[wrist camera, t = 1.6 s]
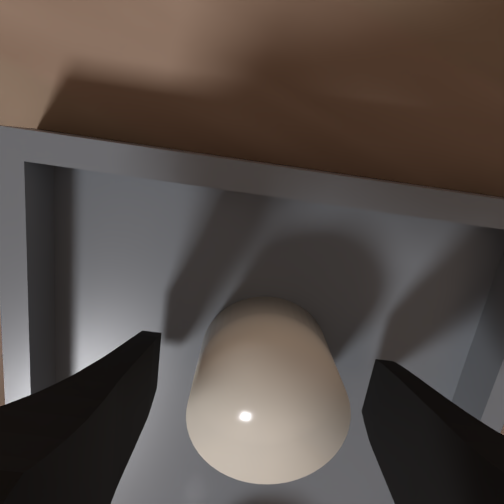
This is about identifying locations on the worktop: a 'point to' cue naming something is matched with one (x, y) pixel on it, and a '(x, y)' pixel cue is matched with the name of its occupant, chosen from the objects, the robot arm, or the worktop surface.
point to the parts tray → (241, 288)
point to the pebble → (266, 394)
